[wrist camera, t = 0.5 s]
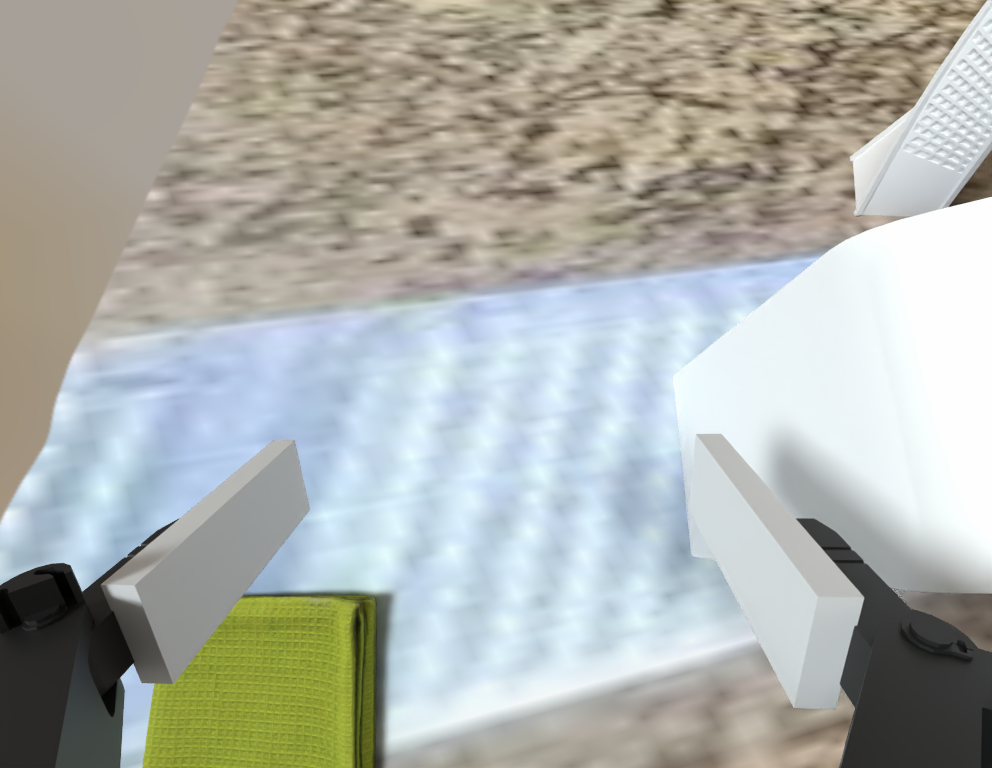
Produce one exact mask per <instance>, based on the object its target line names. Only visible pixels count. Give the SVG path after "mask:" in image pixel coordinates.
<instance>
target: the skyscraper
mask: <svg viewBox="0 0 992 768" xmlns="http://www.w3.org/2000/svg"><path fill="white" fill-rule="evenodd" d="M991 150H992V0H987V1H986V3H985V4H984V6H983V7H982V8H981V10H980V11H979V12H978V14H977V15H976V16H975V18H974V19H973V21H972V22H971V23H970V25H969V26H968V27H967V29H966V30H965V31H964V33H963V34H962V36H961V37H960V39H959V40H958V42H957V43H956V44H955V46H954V47H953V49H952V50H951V52H950V53H949V55H948V56H947V58H946V59H945V61H944V62H943V63H942V65H941V66H940V68H939V69H938V71H937V72H936V74H935V75H934V77H933V79H932V80H931V82H930V83H929V85H928V86H927V88H926V89H925V91H924V93H923V94H922V96H921V97H920V99H919V100H918V102H917V104H916V105H915V107H914V108H912V109H911V110H910V111H909V112H907V113H906V114H905V115H903V116H902V117H901V118H900V119H898V120H897V121H896V122H894V123H893V124H892V125H891V126H889V127H888V128H887V129H885V130H884V131H883V132H882V133H880V134H879V135H878V136H877V137H875V138H874V139H873V140H871V141H870V142H869V143H868V144H866V145H865V146H864V147H862V148H861V149H860V150H859V151H857V152H856V153H855V154H853V155H852V156H851V157H850V161H853V169H854V182H855V196H856V210H855V211H854V215H855V216H859V215H873V216H898V217H913V216H917V215H920V214H924V213H928V212H932V211H936V210H940V209H944V208H948V207H949V205H950V204H951V203H952V201H953V200H954V199H955V197H956V196H957V195H958V193H959V192H960V191H961V189H962V188H963V187H964V186H965V184H966V183H967V182H968V180H969V179H970V178H971V176H972V175H973V174H974V172H975V171H976V170H977V168H978V167H979V166H980V165H981V163H982V162H983V161H984V159H985V158H986V157H987V155H988V154H989V153H990V151H991Z"/></svg>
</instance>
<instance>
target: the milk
mask: <svg viewBox="0 0 992 768" xmlns="http://www.w3.org/2000/svg"><path fill="white" fill-rule="evenodd" d="M673 376H674V386H675V396H676V406H677V416H678V426H679V436H680V446H681V456H682V466H683V476H684V486H685V496H686V506H687V516H688V526H689V536H690V546H691V556H692V557H699V558H705V559H711V560H715V558H714V556H713V554H712V552H711V551H710V549H709V547H708V545H707V543H706V541H705V539H704V537H703V535H702V534H701V532H700V530H699V528H698V526H697V524H696V522H695V520H694V518H693V517H692V515H691V513H690V511H689V502H690V491H691V480H692V470H693V459H694V448H695V438H696V434H722V435H723V436H724V437H725V438H726V439H727V441H728V442H729V443H730V444H731V445H732V446H733V447H734V449H735V450H736V451H737V452H738V453H739V454H740V455H741V457H742V458H743V459H744V460H745V461H746V462H747V463H748V465H749V466H750V467H751V468H752V469H753V470H754V471H755V473H756V474H757V475H758V476H759V477H760V478H761V480H762V481H763V482H764V483H765V484H766V485H767V486H768V488H769V489H770V490H771V491H772V492H773V493H774V494H775V496H776V497H777V498H778V499H779V500H780V501H781V502H782V504H783V505H784V506H785V507H786V508H787V509H788V510H789V512H790V513H791V514H792V515H793V516H794V517H795V518H814V519H816V520H818V521H819V522H821V523H823V524H824V525H826V526H827V527H829V528H831V529H832V530H834V531H836V532H837V533H838V534H839V535H840V536H841V537H842V538H843V540H844V541H845V542H846V543H847V544H848V545H849V546H850V547H851V550H854V551H855V552H856V553H857V554H858V555H859V556H860V557H861V558H862V559H863V560H864V564H868V565H869V566H870V567H871V569H872V570H873V571H874V572H875V573H876V574H877V575H878V576H879V577H880V578H881V579H882V580H883V581H884V582H885V583H886V584H887V585H888V586H889V587H890V588H894V589H901V590H910V591H919V592H940V593H974V594H992V197H989V198H985V199H981V200H977V201H973V202H969V203H965V204H960V205H956V206H952V207H948V208H944V209H940V210H936V211H932V212H928V213H924V214H920V215H917V216H913V217H909V218H905V219H901V220H898V221H895V222H892V223H889V224H886V225H883V226H880V227H876V228H873V229H870V230H868V231H865V232H863V233H861V234H859V235H856V236H854V237H852V238H850V239H847V240H845V241H843V242H842V243H840V244H839V245H837V246H836V247H834V248H833V249H831V250H829V251H828V252H827V253H825V254H824V255H823V256H822V257H820V258H819V259H818V260H817V261H815V262H814V263H813V264H812V265H810V266H809V267H808V268H807V269H805V270H804V271H803V272H802V273H800V274H799V275H798V276H797V277H795V278H794V279H793V280H792V281H790V282H789V283H788V284H787V285H786V286H784V287H783V288H782V289H781V290H779V291H778V292H777V293H776V294H774V295H773V296H772V297H771V298H769V299H768V300H767V301H766V302H764V303H763V304H762V305H761V306H759V307H758V308H757V309H756V310H754V311H753V312H752V313H751V314H749V315H748V316H747V317H746V318H744V319H743V320H742V321H741V322H739V323H738V324H737V325H736V326H734V327H733V328H732V329H731V330H729V331H728V332H727V333H726V334H724V335H723V336H722V337H721V338H719V339H718V340H717V341H716V342H714V343H713V344H712V345H711V346H709V347H708V348H707V349H706V350H704V351H703V352H702V353H701V354H699V355H698V356H697V357H696V358H694V359H693V360H692V361H691V362H689V363H688V364H687V365H686V366H684V367H683V368H682V369H681V370H679V371H678V372H677V373H676V374H675V375H673Z"/></svg>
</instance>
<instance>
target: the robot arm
mask: <svg viewBox="0 0 992 768" xmlns="http://www.w3.org/2000/svg"><path fill="white" fill-rule="evenodd" d="M309 510H310V508H309V503H308V499H307V494H306V489H305V485H304V480H303V476H302V471H301V467H300V462H299V458H298V453H297V449H296V444H295V440H276V441H272V442H271V443H270V444H268V445H267V446H266V447H265V448H264V449H262V450H261V451H260V452H259V453H258V454H256V455H255V456H254V457H253V458H252V459H250V460H249V461H248V462H247V463H246V464H245V465H243V466H242V467H241V468H240V469H239V470H237V471H236V472H235V473H234V474H233V475H231V476H230V477H229V478H228V479H227V480H225V481H224V482H223V483H222V484H221V485H219V486H218V487H217V488H216V489H215V490H213V491H212V492H211V493H210V494H209V495H207V496H206V497H205V498H204V499H203V500H201V501H200V502H199V503H198V504H197V505H195V506H194V507H193V508H192V509H191V510H189V511H188V512H187V513H186V514H185V515H183V516H182V517H181V518H180V519H177V520H176V521H174V522H172V523H170V524H168V525H167V526H165V527H163V528H161V529H159V530H157V531H156V532H155V533H154V534H153V535H151V536H150V537H149V538H148V539H146V540H145V541H144V542H143V543H142V544H141V546H138V547H137V548H135V549H134V550H133V551H132V552H131V553H129V554H128V557H127V558H123V559H122V560H121V561H120V562H118V563H117V564H116V565H115V566H113V567H112V568H111V569H110V570H109V571H107V572H106V573H105V574H104V575H102V576H101V577H100V578H99V579H98V580H96V581H95V582H94V583H93V584H91V585H90V586H89V587H88V588H87V589H85V590H84V591H83V592H82V591H81V588H80V586H79V584H78V581H77V579H76V577H75V575H74V572H73V570H72V568H71V566H70V565H67V564H64V563H57V564H49V565H45V566H41V567H37V568H34V569H32V570H29V571H27V572H24V573H22V574H19V575H18V576H16V577H14V578H12V579H10V580H8V581H7V582H5V583H3V584H2V585H0V768H120V759H121V743H122V726H123V710H124V693H125V690H124V687H123V684H122V681H121V679H120V677H121V676H122V675H123V674H124V673H125V672H126V671H127V669H128V668H129V667H130V666H131V665H132V664H133V663H134V666H135V668H136V670H137V673H138V675H139V678H140V680H141V682H142V683H158V684H174V683H175V681H176V680H177V679H178V678H179V676H180V675H181V674H182V672H183V671H184V670H185V669H186V667H187V666H188V665H189V663H190V662H191V661H192V660H193V658H194V657H195V656H196V655H197V653H198V652H199V651H200V649H201V648H202V647H203V646H204V644H205V643H206V642H207V640H208V639H209V638H210V637H211V635H212V634H213V633H214V632H215V630H216V629H217V628H218V626H219V625H220V624H221V623H222V621H223V620H224V619H225V617H226V616H227V615H228V614H229V612H230V611H231V610H232V609H233V607H234V606H235V605H236V603H237V602H238V601H239V600H240V598H241V597H242V596H243V595H244V593H245V592H246V591H247V589H248V588H249V587H250V586H251V584H252V583H253V582H254V580H255V579H256V578H257V577H258V575H259V574H260V573H261V572H262V570H263V569H264V568H265V566H266V565H267V564H268V563H269V561H270V560H271V559H272V557H273V556H274V555H275V554H276V552H277V551H278V550H279V549H280V547H281V546H282V545H283V543H284V542H285V541H286V540H287V538H288V537H289V536H290V534H291V533H292V532H293V531H294V529H295V528H296V527H297V526H298V524H299V523H300V522H301V520H302V519H303V518H304V517H305V515H306V514H307V513H308V512H309ZM689 511H690V513H691V515H692V517H693V518H694V520H695V522H696V524H697V526H698V528H699V530H700V532H701V534H702V535H703V537H704V539H705V541H706V543H707V545H708V547H709V549H710V551H711V552H712V554H713V556H714V558H715V560H716V562H717V564H718V566H719V568H720V569H721V571H722V573H723V575H724V577H725V579H726V581H727V583H728V585H729V586H730V588H731V590H732V592H733V594H734V596H735V598H736V600H737V602H738V603H739V605H740V607H741V609H742V611H743V613H744V615H745V617H746V619H747V620H748V622H749V624H750V626H751V628H752V630H753V632H754V634H755V636H756V637H757V639H758V641H759V643H760V645H761V647H762V649H763V651H764V653H765V654H766V656H767V658H768V660H769V662H770V664H771V666H772V668H773V669H774V671H775V673H776V675H777V677H778V679H779V681H780V683H781V685H782V686H783V688H784V690H785V692H786V694H787V696H788V698H789V700H790V702H791V703H792V705H793V707H794V708H809V709H836V705H837V701H838V698H839V694H840V690H841V687H842V688H843V690H844V691H845V693H846V694H847V696H848V697H849V699H850V700H851V702H852V703H853V705H854V707H855V711H854V715H853V718H852V722H851V725H850V729H849V733H848V736H847V740H846V743H845V748H844V752H843V755H842V759H841V763H840V767H839V768H992V652H988V651H984V650H981V649H978V648H977V646H976V645H975V644H974V643H973V642H972V641H971V640H970V639H969V637H968V636H966V635H965V634H963V633H962V632H961V631H959V630H958V629H956V628H955V627H954V626H952V625H951V624H949V623H947V622H945V621H943V620H941V619H939V618H937V617H935V616H932V615H929V614H926V613H923V612H919V611H916V610H911V609H910V608H909V607H908V606H907V605H906V604H905V603H904V602H903V601H902V600H901V599H900V598H899V596H898V595H897V594H896V593H895V592H894V591H893V590H892V589H891V588H890V587H889V586H888V585H887V584H886V583H885V582H884V581H883V580H882V579H881V578H880V577H879V576H878V575H877V574H876V573H875V572H874V571H873V570H872V569H871V567H870V566H869V565H868V564H864V560H863V559H862V558H861V557H860V556H859V555H858V554H857V553H856V552H855V551H854V550H851V547H850V546H849V545H848V544H847V543H846V542H845V541H844V540H843V538H842V537H841V536H840V535H839V534H838V533H837V532H836V531H834V530H832V529H831V528H829V527H827V526H826V525H824V524H823V523H821V522H819V521H818V520H816V519H814V518H795V517H794V516H793V515H792V514H791V513H790V512H789V510H788V509H787V508H786V507H785V506H784V505H783V504H782V502H781V501H780V500H779V499H778V498H777V497H776V496H775V494H774V493H773V492H772V491H771V490H770V489H769V488H768V486H767V485H766V484H765V483H764V482H763V481H762V480H761V478H760V477H759V476H758V475H757V474H756V473H755V471H754V470H753V469H752V468H751V467H750V466H749V465H748V463H747V462H746V461H745V460H744V459H743V458H742V457H741V455H740V454H739V453H738V452H737V451H736V450H735V449H734V447H733V446H732V445H731V444H730V443H729V442H728V441H727V439H726V438H725V437H724V436H723V435H722V434H696V438H695V448H694V459H693V470H692V480H691V491H690V502H689Z"/></svg>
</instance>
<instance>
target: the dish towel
mask: <svg viewBox="0 0 992 768" xmlns="http://www.w3.org/2000/svg"><path fill="white" fill-rule="evenodd" d="M375 712H376V601H375V598H374V597H372V596H363V595H330V596H286V597H285V596H283V597H277V596H242V597H241V598H240V600H239V601H238V602H237V603H236V605H235V606H234V607H233V609H232V610H231V611H230V612H229V614H228V615H227V616H226V617H225V619H224V620H223V621H222V623H221V624H220V625H219V626H218V628H217V629H216V630H215V632H214V633H213V634H212V635H211V637H210V638H209V639H208V640H207V642H206V643H205V644H204V646H203V647H202V648H201V649H200V651H199V652H198V653H197V655H196V656H195V657H194V658H193V660H192V661H191V662H190V663H189V665H188V666H187V667H186V669H185V670H184V671H183V672H182V674H181V675H180V676H179V678H178V679H177V680H176V681H175V683H174V684H158V683H155V684H154V690H153V696H152V702H151V709H150V717H149V723H148V730H147V738H146V746H145V753H144V759H143V767H142V768H375V734H376V719H375Z"/></svg>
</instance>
